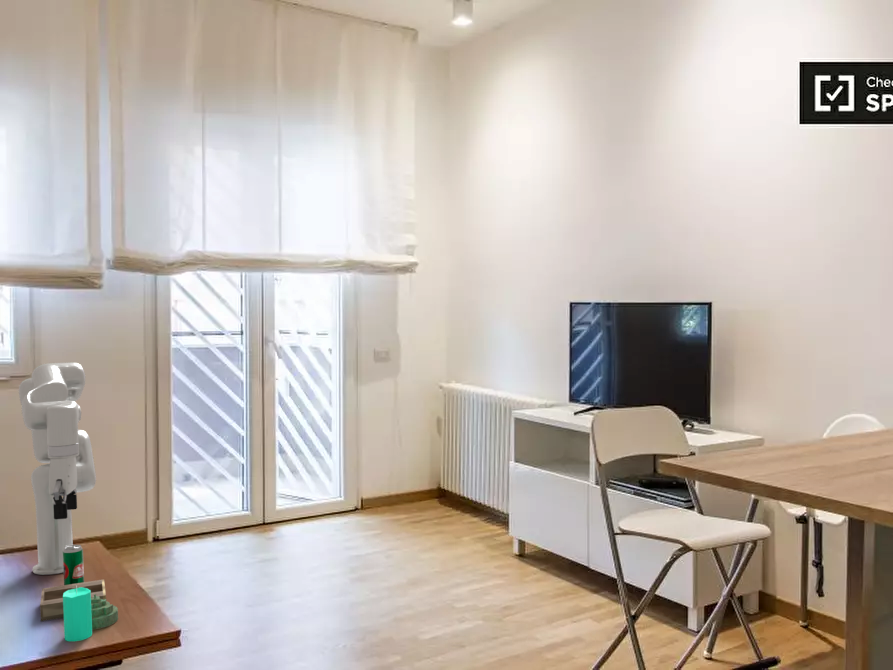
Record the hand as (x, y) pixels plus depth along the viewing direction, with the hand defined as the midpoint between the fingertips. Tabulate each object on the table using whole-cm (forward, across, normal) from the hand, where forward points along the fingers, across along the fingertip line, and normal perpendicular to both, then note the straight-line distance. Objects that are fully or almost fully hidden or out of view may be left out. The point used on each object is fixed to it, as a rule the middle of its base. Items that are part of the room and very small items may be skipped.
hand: (65, 513), depth 218 cm
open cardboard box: (+22, +10, +4) cm, 24 cm away
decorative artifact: (+22, +22, +12) cm, 34 cm away
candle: (+22, +31, +10) cm, 39 cm away
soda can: (+23, -4, 0) cm, 23 cm away
